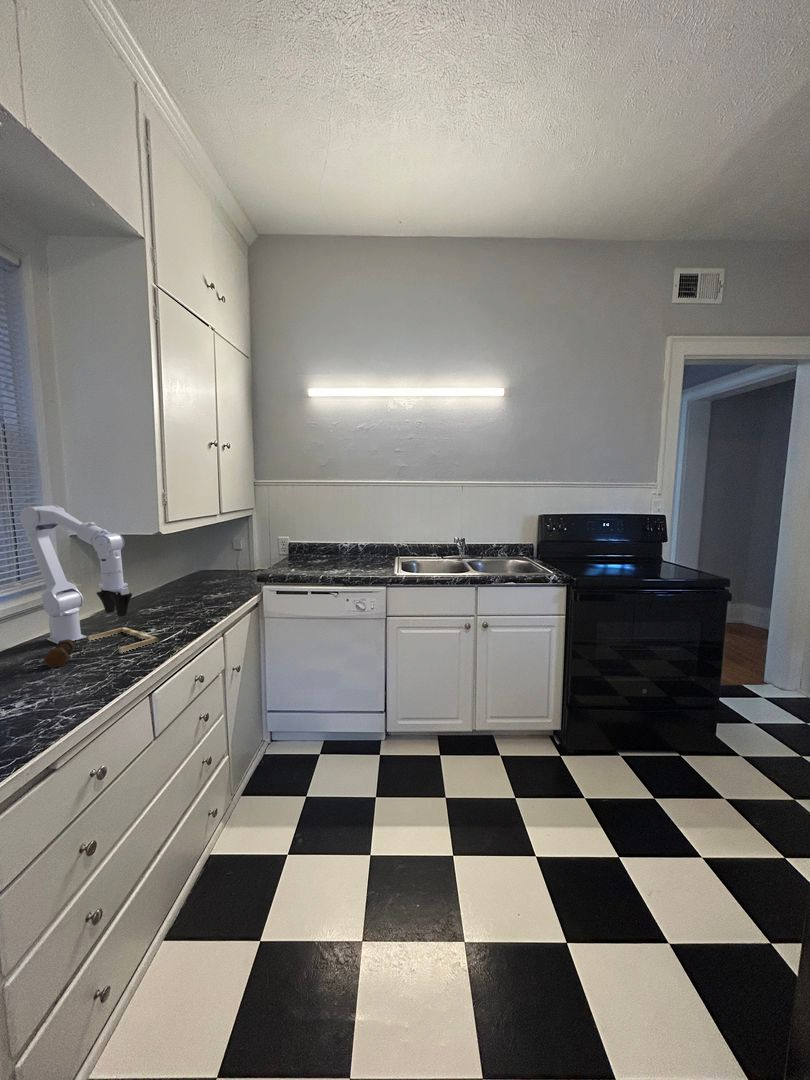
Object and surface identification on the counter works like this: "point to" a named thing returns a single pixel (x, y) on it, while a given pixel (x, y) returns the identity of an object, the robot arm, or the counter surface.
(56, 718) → the counter surface
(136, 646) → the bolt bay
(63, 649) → the bolt
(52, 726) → the counter surface
